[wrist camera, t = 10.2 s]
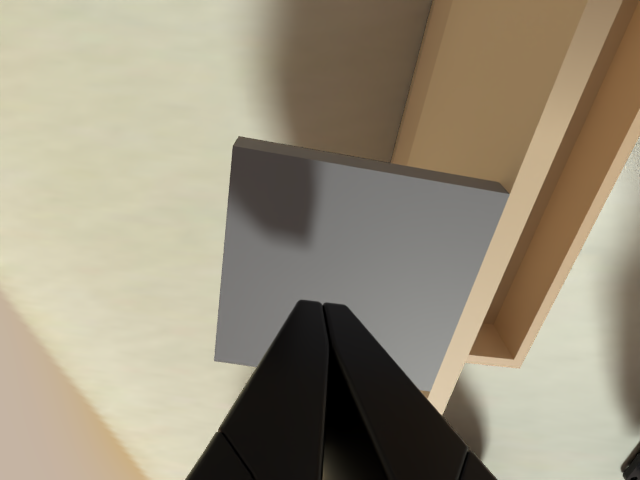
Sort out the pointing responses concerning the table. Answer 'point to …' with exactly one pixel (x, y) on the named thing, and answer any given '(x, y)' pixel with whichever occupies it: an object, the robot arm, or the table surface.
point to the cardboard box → (550, 182)
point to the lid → (413, 196)
